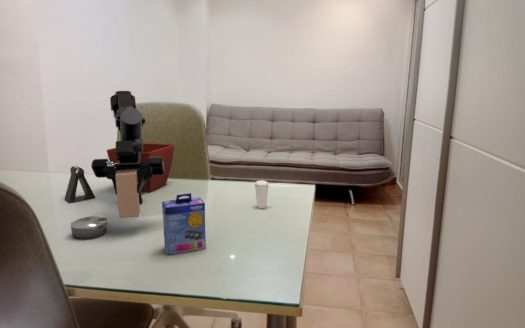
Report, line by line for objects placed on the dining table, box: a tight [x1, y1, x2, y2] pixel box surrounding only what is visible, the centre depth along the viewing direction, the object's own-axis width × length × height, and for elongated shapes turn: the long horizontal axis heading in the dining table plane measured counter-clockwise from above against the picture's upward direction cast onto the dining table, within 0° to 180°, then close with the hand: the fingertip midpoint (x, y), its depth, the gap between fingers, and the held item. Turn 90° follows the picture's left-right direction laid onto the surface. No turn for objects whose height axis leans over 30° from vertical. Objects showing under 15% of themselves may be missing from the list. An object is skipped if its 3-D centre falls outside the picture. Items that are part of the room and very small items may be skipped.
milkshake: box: [254, 179, 271, 209], centre depth 126 cm, size 4×5×10 cm
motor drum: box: [70, 215, 109, 241], centre depth 104 cm, size 9×9×4 cm
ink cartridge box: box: [161, 192, 207, 256], centre depth 93 cm, size 10×6×14 cm, turn 114°
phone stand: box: [64, 165, 96, 204], centre depth 137 cm, size 9×6×12 cm, turn 131°
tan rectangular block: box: [115, 170, 141, 220], centre depth 103 cm, size 5×5×12 cm
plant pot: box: [106, 142, 175, 193], centre depth 152 cm, size 19×19×17 cm
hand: (127, 193), depth 102 cm, fingers closed on tan rectangular block, 5 cm apart
